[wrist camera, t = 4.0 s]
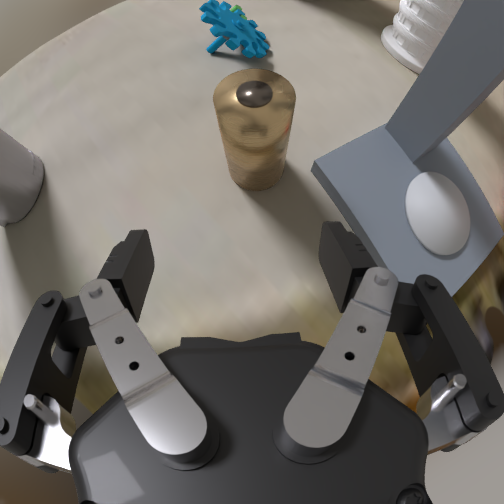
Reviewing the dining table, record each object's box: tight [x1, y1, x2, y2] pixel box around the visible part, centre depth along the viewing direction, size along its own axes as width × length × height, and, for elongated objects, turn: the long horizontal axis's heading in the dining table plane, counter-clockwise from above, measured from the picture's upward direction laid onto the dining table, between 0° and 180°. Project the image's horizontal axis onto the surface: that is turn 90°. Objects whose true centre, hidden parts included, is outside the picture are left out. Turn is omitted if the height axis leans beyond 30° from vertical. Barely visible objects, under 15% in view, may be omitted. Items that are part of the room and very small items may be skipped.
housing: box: [213, 69, 296, 191], centre depth 20 cm, size 5×5×10 cm
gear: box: [199, 0, 269, 58], centre depth 26 cm, size 11×6×10 cm
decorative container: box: [381, 0, 464, 74], centre depth 19 cm, size 12×12×18 cm
